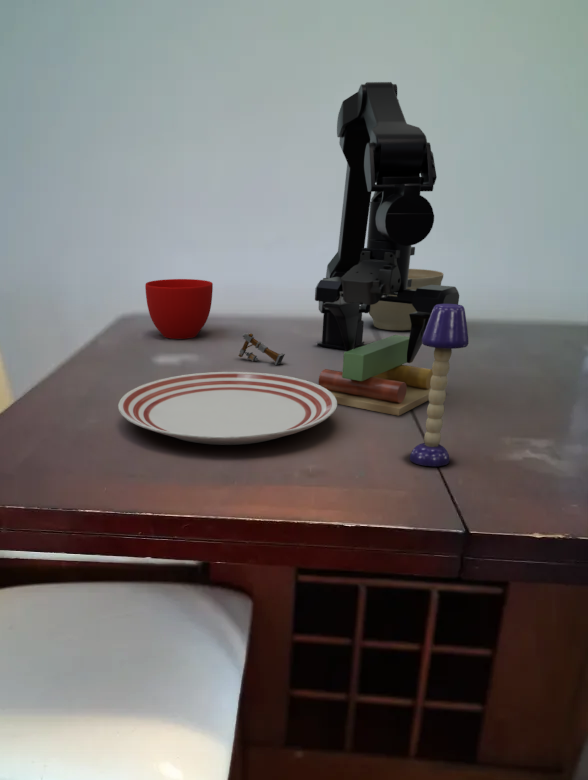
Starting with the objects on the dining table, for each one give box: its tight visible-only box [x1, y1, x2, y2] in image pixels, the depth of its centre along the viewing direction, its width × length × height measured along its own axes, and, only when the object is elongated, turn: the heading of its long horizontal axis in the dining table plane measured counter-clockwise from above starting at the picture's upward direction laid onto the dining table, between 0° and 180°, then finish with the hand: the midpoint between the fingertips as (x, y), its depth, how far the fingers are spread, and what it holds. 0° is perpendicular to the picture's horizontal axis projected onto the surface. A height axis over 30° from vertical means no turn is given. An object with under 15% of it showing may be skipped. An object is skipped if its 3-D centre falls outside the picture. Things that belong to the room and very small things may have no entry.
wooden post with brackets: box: [238, 332, 286, 366], centre depth 125 cm, size 2×8×4 cm, turn 58°
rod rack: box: [318, 364, 433, 417], centre depth 105 cm, size 14×14×4 cm
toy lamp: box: [409, 303, 469, 467], centre depth 79 cm, size 5×5×17 cm
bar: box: [342, 334, 410, 381], centre depth 104 cm, size 3×15×4 cm, turn 141°
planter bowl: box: [367, 268, 444, 331], centre depth 151 cm, size 16×16×11 cm
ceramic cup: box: [144, 278, 214, 340], centre depth 146 cm, size 13×17×10 cm
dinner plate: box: [117, 371, 338, 446], centre depth 94 cm, size 27×27×3 cm
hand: (378, 357), depth 104 cm, fingers open, 9 cm apart
